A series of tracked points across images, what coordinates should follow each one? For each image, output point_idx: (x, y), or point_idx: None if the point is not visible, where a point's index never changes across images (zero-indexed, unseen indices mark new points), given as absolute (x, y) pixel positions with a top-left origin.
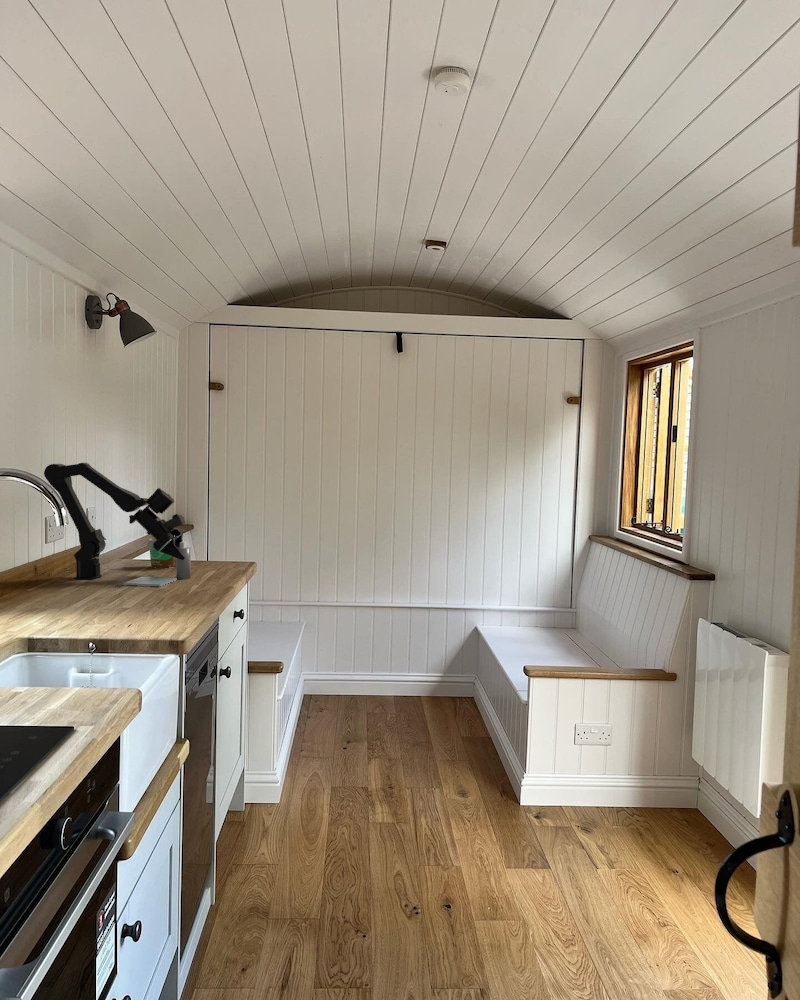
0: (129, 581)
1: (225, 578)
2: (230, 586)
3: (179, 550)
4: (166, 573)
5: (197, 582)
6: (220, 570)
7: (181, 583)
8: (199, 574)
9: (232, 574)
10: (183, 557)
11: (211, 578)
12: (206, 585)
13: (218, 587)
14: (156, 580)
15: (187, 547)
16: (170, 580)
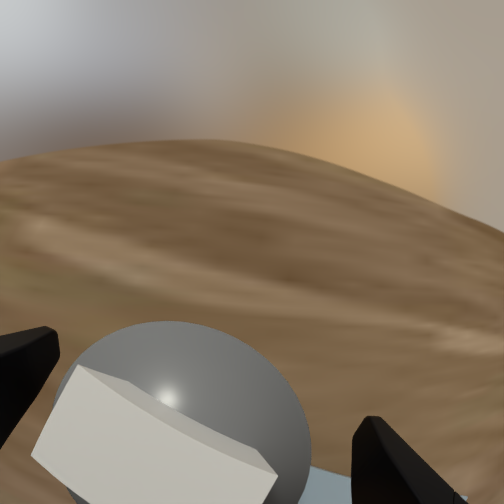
0: None
1: (273, 196)
2: (454, 213)
3: (418, 486)
4: (18, 470)
5: (380, 338)
6: (35, 198)
7: (398, 421)
8: (93, 306)
9: (162, 160)
10: (381, 428)
11: (259, 257)
12: (449, 295)
13: (475, 253)
14: None
15: (109, 367)
16: None
